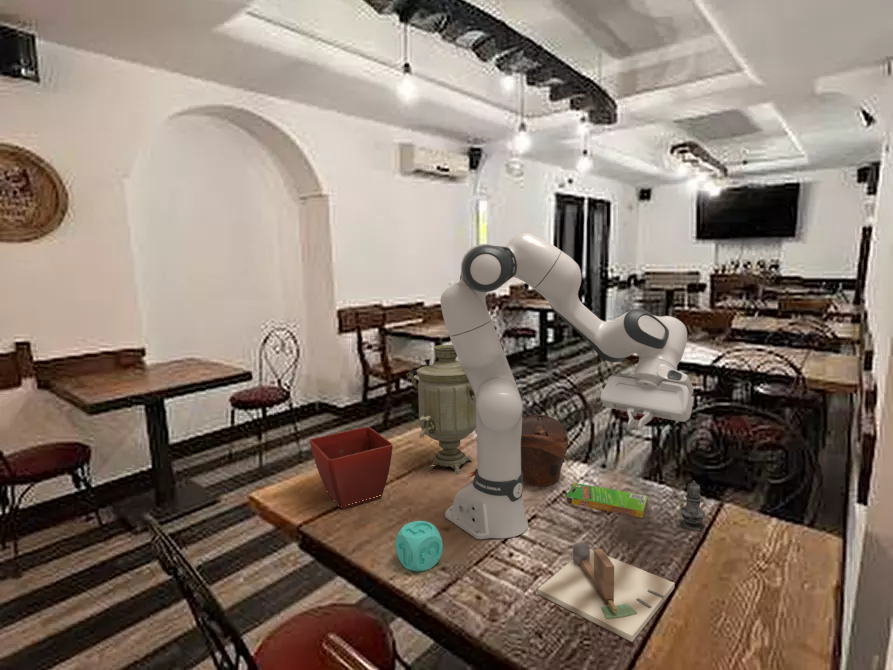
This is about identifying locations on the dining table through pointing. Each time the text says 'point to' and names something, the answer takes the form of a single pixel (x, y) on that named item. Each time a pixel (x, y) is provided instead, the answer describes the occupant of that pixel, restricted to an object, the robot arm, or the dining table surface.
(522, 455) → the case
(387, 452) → the plant pot
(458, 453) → the samovar
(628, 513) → the game box
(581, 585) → the dial board
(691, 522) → the chess piece
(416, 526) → the decorative dice
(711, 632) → the dining table surface
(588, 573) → the tuning lever
